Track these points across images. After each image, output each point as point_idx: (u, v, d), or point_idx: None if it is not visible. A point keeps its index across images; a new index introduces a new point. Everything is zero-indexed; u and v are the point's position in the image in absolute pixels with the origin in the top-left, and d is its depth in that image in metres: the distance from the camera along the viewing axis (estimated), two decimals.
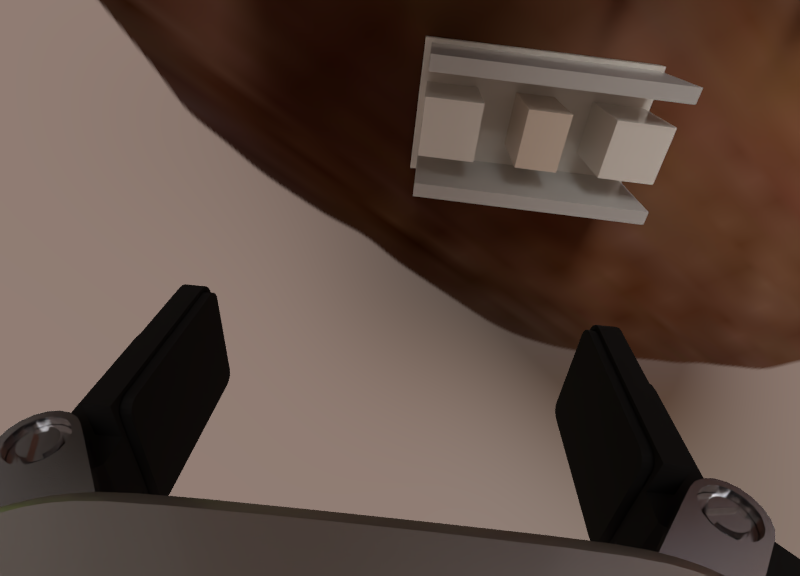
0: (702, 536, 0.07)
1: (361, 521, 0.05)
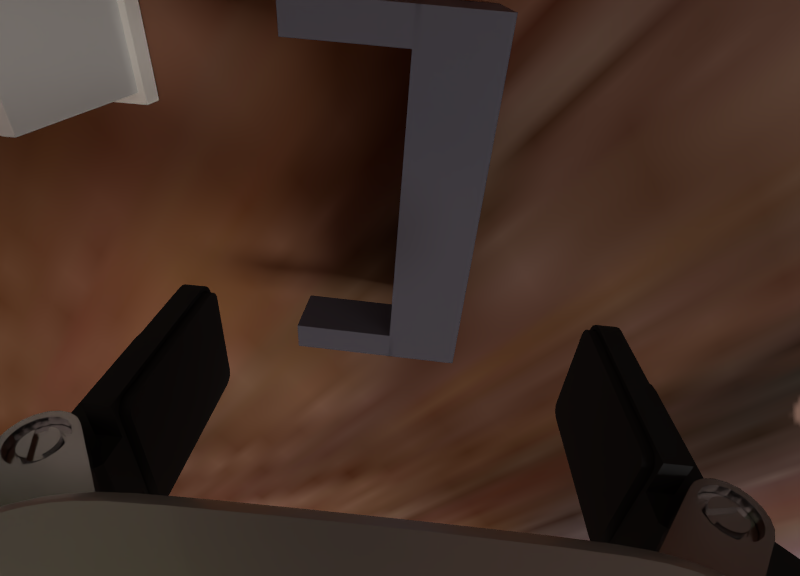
0: (701, 536, 0.07)
1: (361, 521, 0.05)
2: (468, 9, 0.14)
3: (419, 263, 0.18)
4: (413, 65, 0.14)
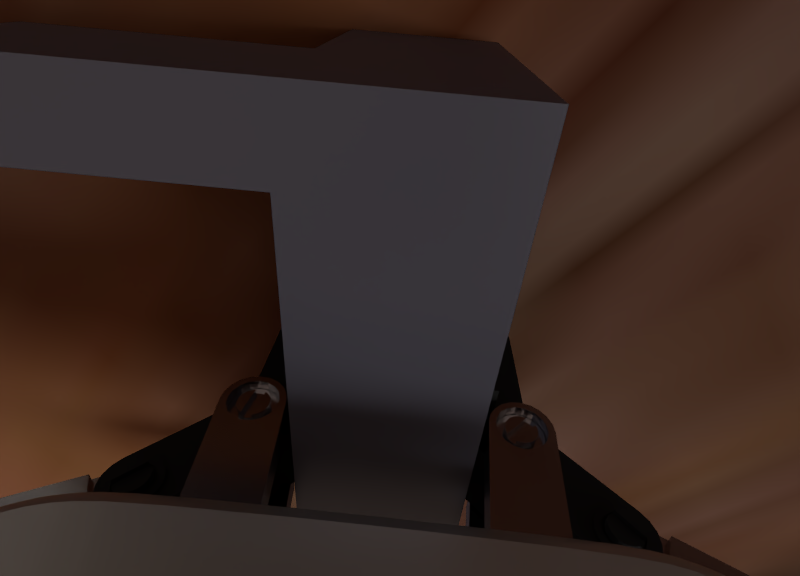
0: (512, 460, 0.08)
1: (361, 521, 0.05)
2: (420, 94, 0.04)
3: None
4: (280, 230, 0.05)
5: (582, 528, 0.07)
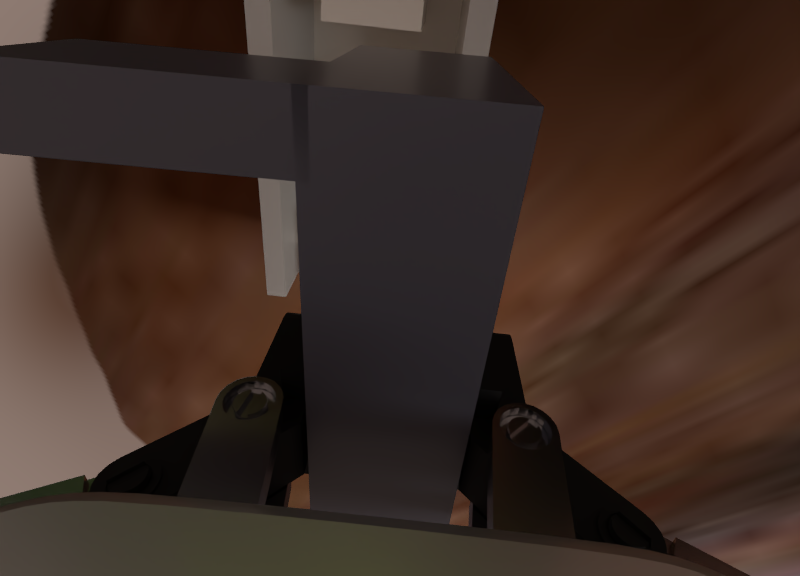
0: (515, 461, 0.08)
1: (361, 521, 0.05)
2: (421, 98, 0.05)
3: None
4: (302, 214, 0.06)
5: (586, 529, 0.07)
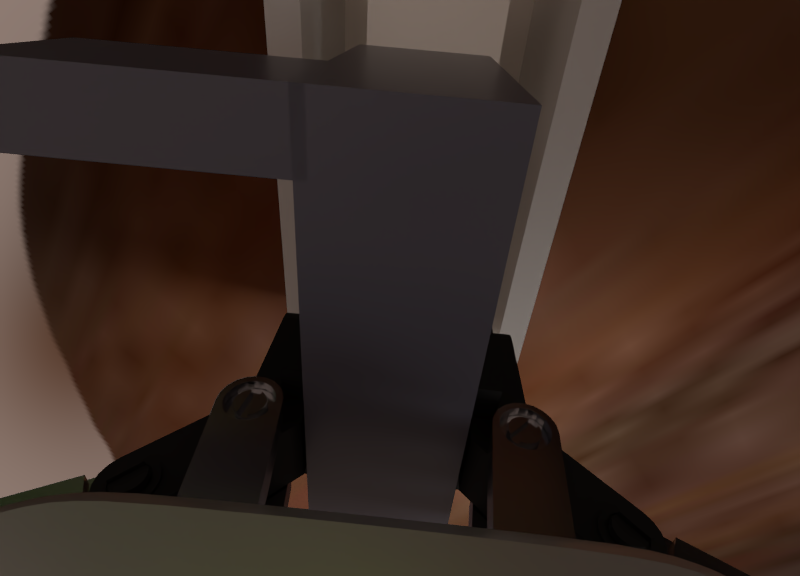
0: (515, 461, 0.08)
1: (361, 521, 0.05)
2: (419, 97, 0.05)
3: None
4: (300, 213, 0.06)
5: (586, 529, 0.07)
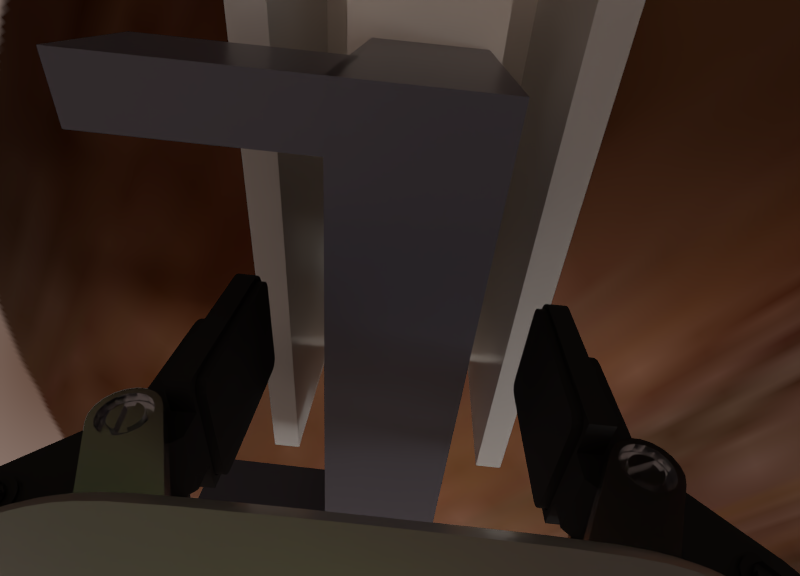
0: (627, 495, 0.07)
1: (361, 521, 0.05)
2: (430, 89, 0.07)
3: (363, 463, 0.11)
4: (328, 185, 0.08)
5: None
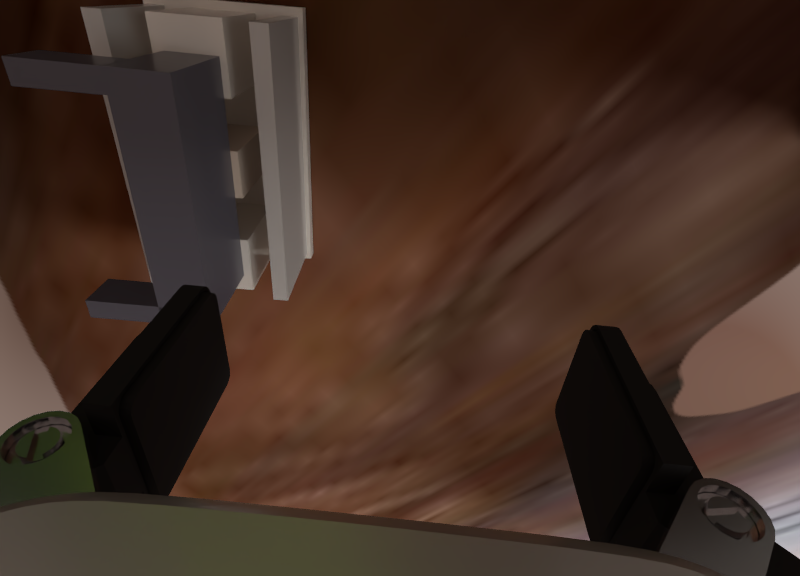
0: (702, 536, 0.07)
1: (361, 521, 0.05)
2: (136, 70, 0.20)
3: (162, 248, 0.25)
4: (111, 106, 0.21)
5: None
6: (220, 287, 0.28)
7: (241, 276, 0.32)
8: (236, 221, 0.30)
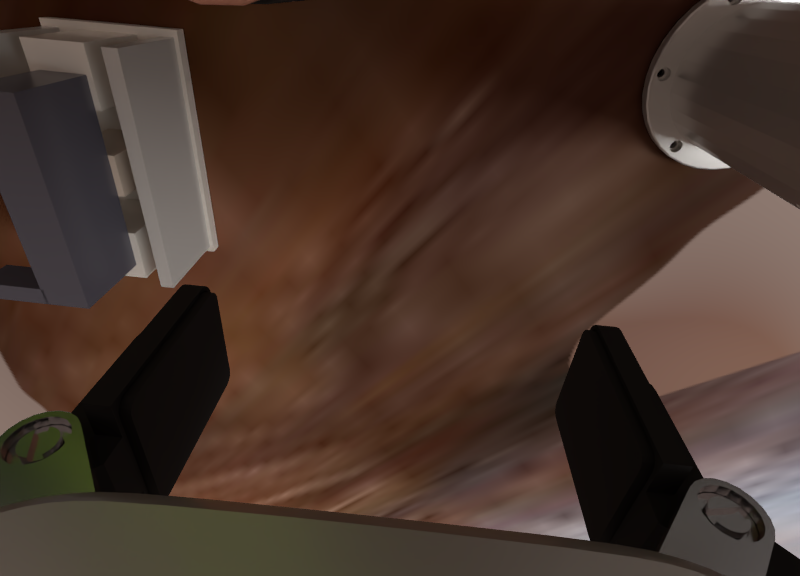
0: (702, 536, 0.07)
1: (361, 521, 0.05)
2: None
3: (34, 238, 0.29)
4: None
5: None
6: (98, 274, 0.32)
7: (132, 265, 0.36)
8: (121, 216, 0.34)
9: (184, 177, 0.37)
